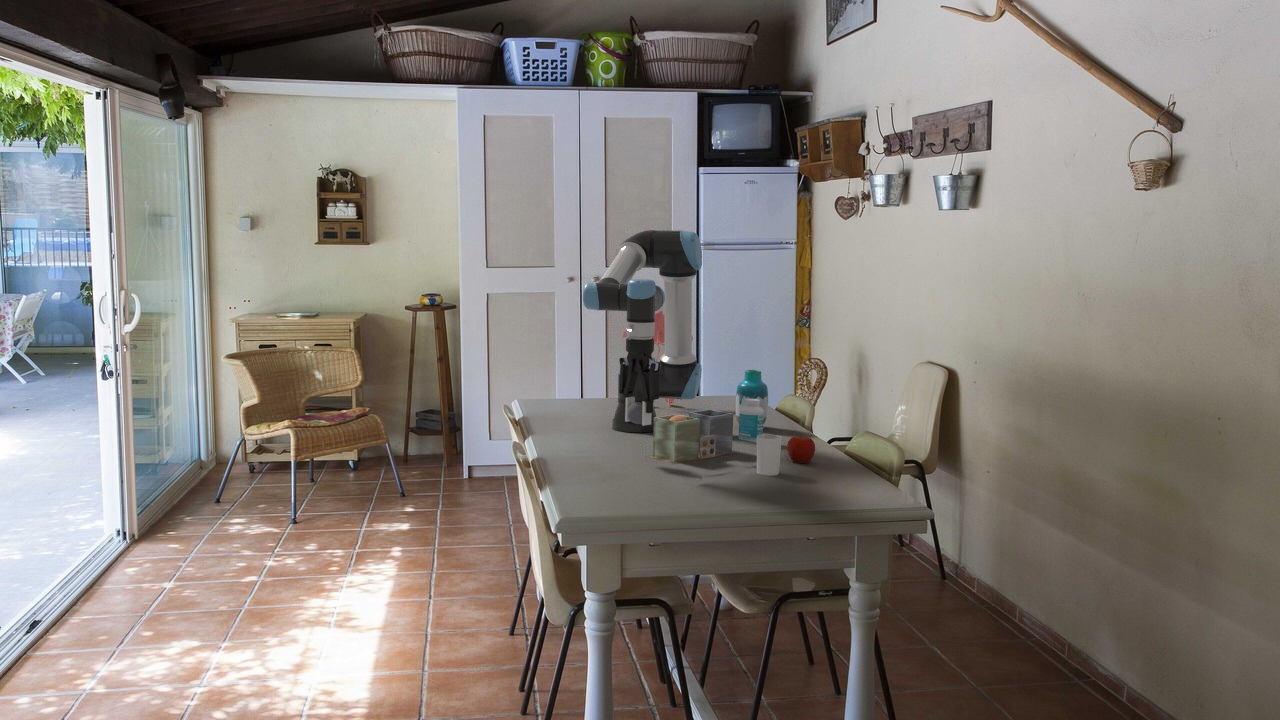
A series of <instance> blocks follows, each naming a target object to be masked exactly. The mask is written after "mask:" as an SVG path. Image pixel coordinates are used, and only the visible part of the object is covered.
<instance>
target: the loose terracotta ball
mask: <svg viewBox="0 0 1280 720" xmlns="http://www.w3.org/2000/svg"><path fill="white" fill-rule="evenodd" d="M674 415H675V414H674ZM684 416H685V415H683V416H681V414H678V415H675V416H673V417H671V418H670V420H671V421H676V422H679V421H686V420H687V419H686V418H685V417H684Z"/></svg>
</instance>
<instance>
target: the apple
mask: <svg viewBox="0 0 1280 720" xmlns="http://www.w3.org/2000/svg"><path fill="white" fill-rule="evenodd" d="M786 450H787V453H788V456H789V457H790V460H791V461H793V462H794V463H796V462H797V463H796V464H808V463H809V462H811V461H812V459H813V457H814V454H815V451H816V445H815V442H814V440H813V439H812V438H811V437H808V436H803V435H795V436H792V437H791V438H790V439H789V440H788V441H787V444H786Z"/></svg>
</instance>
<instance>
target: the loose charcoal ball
mask: <svg viewBox="0 0 1280 720" xmlns="http://www.w3.org/2000/svg"><path fill="white" fill-rule="evenodd" d="M642 404H643V403H642V402H634V403H632V404H631V405H630V406H629V408H628V410H627V416H628V418H629V420H630V421H631V422H632V423H635V424H642Z"/></svg>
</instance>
